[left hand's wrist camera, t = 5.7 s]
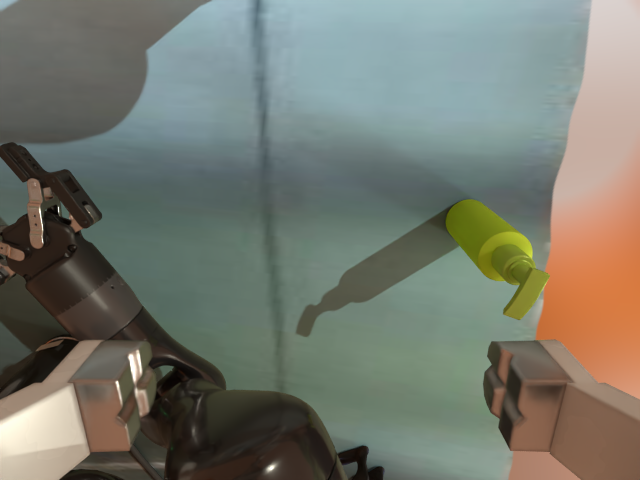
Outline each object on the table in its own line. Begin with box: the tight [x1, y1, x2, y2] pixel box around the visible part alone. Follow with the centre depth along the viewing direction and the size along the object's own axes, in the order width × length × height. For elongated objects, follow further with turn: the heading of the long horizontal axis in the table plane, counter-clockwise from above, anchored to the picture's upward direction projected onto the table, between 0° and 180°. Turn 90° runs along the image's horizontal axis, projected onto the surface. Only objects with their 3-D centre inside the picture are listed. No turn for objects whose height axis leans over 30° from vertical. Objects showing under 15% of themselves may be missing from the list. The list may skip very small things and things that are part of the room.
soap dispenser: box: [446, 199, 550, 320], centre depth 50 cm, size 6×7×20 cm
